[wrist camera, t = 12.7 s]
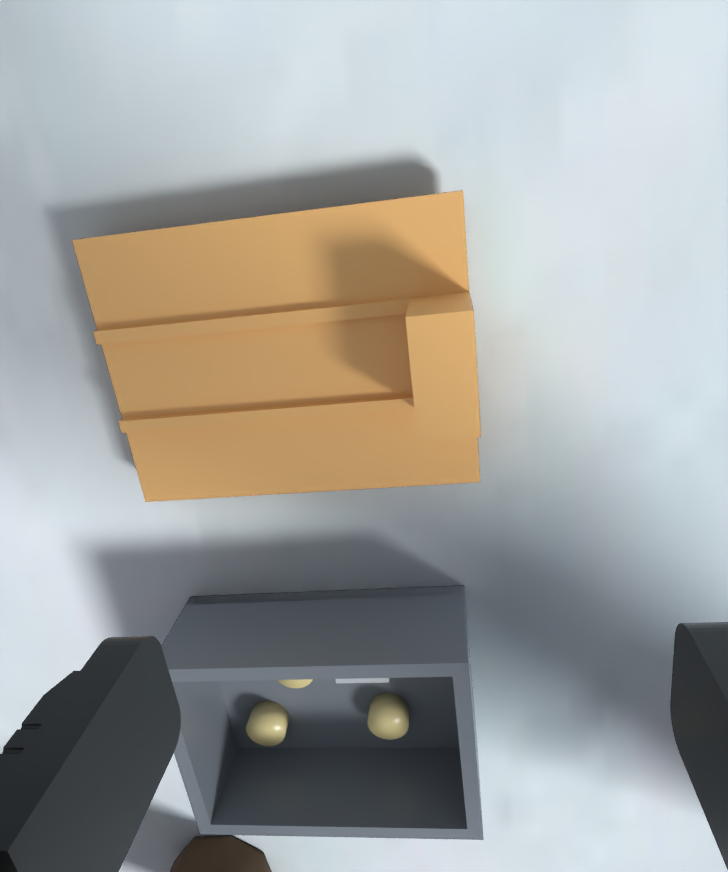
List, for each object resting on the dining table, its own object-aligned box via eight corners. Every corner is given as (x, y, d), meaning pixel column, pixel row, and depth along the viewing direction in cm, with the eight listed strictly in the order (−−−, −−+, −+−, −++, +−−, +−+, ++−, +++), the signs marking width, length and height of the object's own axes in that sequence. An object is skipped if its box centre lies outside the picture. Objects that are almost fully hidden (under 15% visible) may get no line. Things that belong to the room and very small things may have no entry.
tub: (464, 585, 35) (468, 663, 29) (477, 746, 39) (483, 839, 34) (190, 596, 37) (147, 669, 32) (231, 746, 42) (200, 834, 36)
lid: (461, 189, 28) (467, 193, 22) (477, 460, 32) (485, 525, 26) (100, 235, 30) (15, 250, 24) (165, 480, 35) (108, 543, 29)
